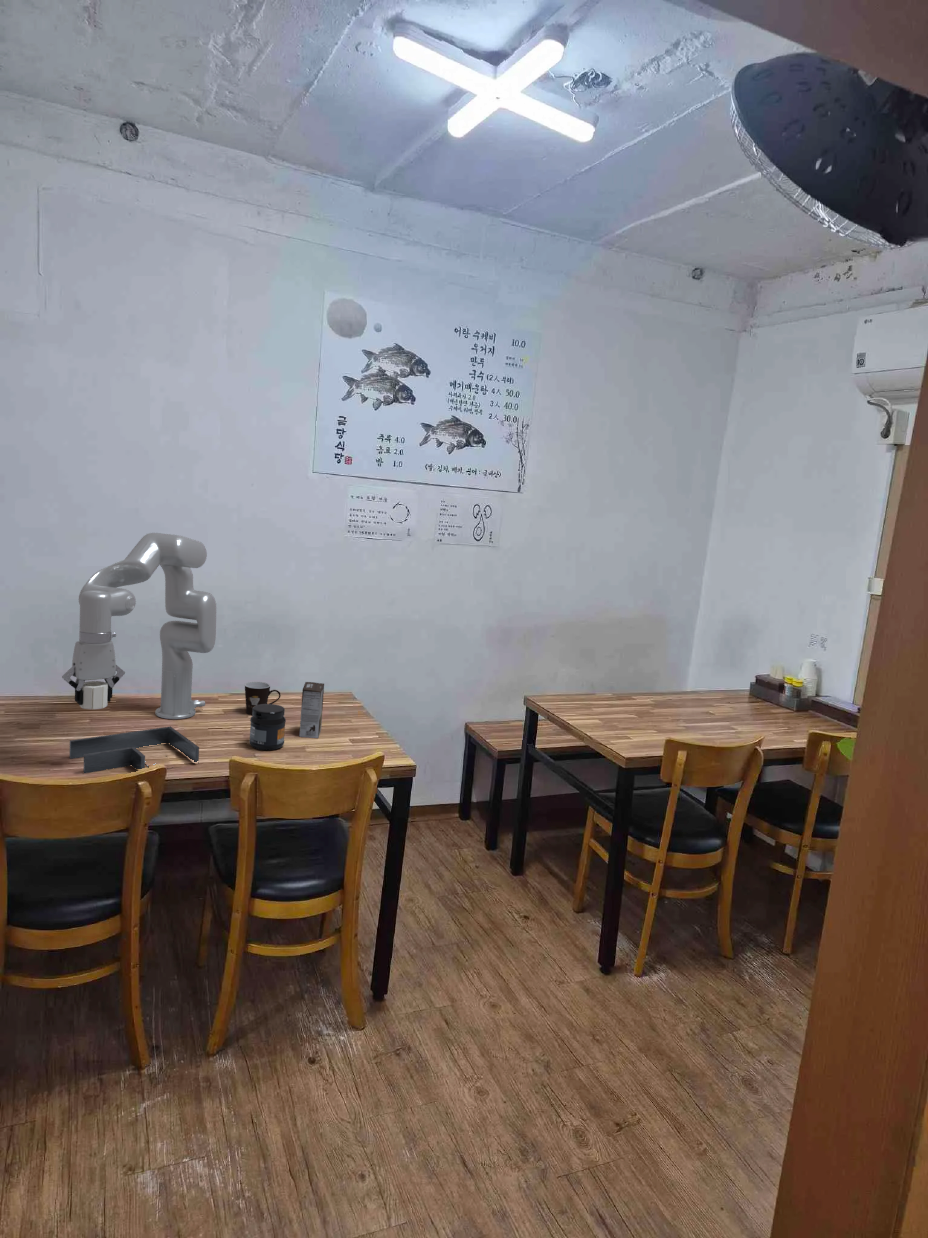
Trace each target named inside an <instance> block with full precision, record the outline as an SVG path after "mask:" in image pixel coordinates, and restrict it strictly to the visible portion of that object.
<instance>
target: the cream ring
mask: <svg viewBox="0 0 928 1238" xmlns="http://www.w3.org/2000/svg"><path fill="white" fill-rule="evenodd" d="M82 691H83V704H82V705H79V707H80V708H81V709H83V710H101V709H104V708H106V707H108V702H107V696H108V684H107V683H106V682H105V681H99V680H87V681H85V682H84V684H83V686H82Z"/></svg>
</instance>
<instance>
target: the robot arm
mask: <svg viewBox="0 0 928 1238" xmlns="http://www.w3.org/2000/svg"><path fill="white" fill-rule="evenodd" d="M206 548H207V547H206V546H205V544H204V543H202V542H201V541H199V540H196V539H192V538H189V537H186V536H183V535H177V534H171V533H161V532H149V533H146V534H145V535H143V536H142V537H141V538H140V539H139V541H138V542H137V543H136V544H135V546H134V547H133V548H132V549H131V551H130V552H129V553H128V555H127V556H126V557H125V558H124V559H123V560H120V561H118V562H117V561H116V562H115V563H113V564H110V565H108V566H106V567H103V568H101V569H99V570H97V571H96V572H95V573H93V574H92V575H91V576H90V578H89V579H88V580H87V581H86V582H85V584H84V585H83V586H82V588H81V590H80V592H79V595H78V603H79V633H78V634H79V636H78V637H79V638H78V639H79V640H78V641H75V643H74V648H73V655H72V661H71V667H70V669H68V670H67V671H66V672H64V674H63V675H61V678H62V680H63V681H65V682H66V683H67V684H69V686H71V687H72V688H74V701H75V702H76V703H77V704H78V705H79V706H80V705H82V704H83V691H82V686H83V684H84V682H86V681H98V680H104V682H106V683H107V684H108V696H107V703H110V702H112V701H111V699H112V698H113V688H114V687H115V685H116V684H117V683H118V682H119V681H120V679H122V677H123V676H125V674H126V671H124V670H123V669H122V668H121V667H120V666H118V665H117V663H116V661H117V660H116V653H115V647H114V641H112V639H113V638H116V637H117V633H116V631H112V630H111V629H112V617H123V616H127V615H129V614H131V613H132V611H133V610H134V608H135V607H136V604H137V603H136V602H137V601H136V596H135V594H134V593H133V592H132V591H130V590H128V589H127V588H121V587H126V586H131V585H132V586H133V585H137V584H141V583H144V582H146V581H148V580H149V579H150V578H151V577H152V575H153V574H154V573H155V572H156V570H157V569H158V568H159V566H160V567H161V569H162V571H163V574H164V580H165V581H164V582H165V583H164V587H165V590H164V596H165V597H164V601H165V602H164V603H165V605H164V607H165V612H166V614H167V615H168V616H170V617H173V618H179V619H184V620H192V621H193V620H194V621H196V622H197V623H196V622H190V621H183V620H169V621H167V622H165V623H163V625H162V626H161V628H160V630H159V641H160V645H161V657H162V658H161V662H162V663H161V686H160V707H158V708H156V710H155V713H154V714H155V715H156V716H157V717H159V718H162V719H167V720H182V719H189V718H192V717H194V716H195V715H196V708H198V707H200V708H201V707H202V708H203V707H205V706H206V702H205V700H198V699H194V700H193V699H192V690H193V689H192V687H193V669H194V668H193V667H194V666H193V665H194V664H193V659H192V657H191V655H190V653H189V652H191V653H198V654H207V653H211V651H212V650H213V649H214V648H215V644H216V639H217V637H216V636H217V603H216V599H215V597H214V595H213V594H211V593H210V592H207V591H204V590H203V591H200V590H195V589H194V574H193V571H192V569H199V568H201V567H202V566H203V565H204V564H205V563H206V561H207V557H208V552H207V549H206ZM72 677H74V678H76V680H75V681H74V680H73V679H72Z"/></svg>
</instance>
